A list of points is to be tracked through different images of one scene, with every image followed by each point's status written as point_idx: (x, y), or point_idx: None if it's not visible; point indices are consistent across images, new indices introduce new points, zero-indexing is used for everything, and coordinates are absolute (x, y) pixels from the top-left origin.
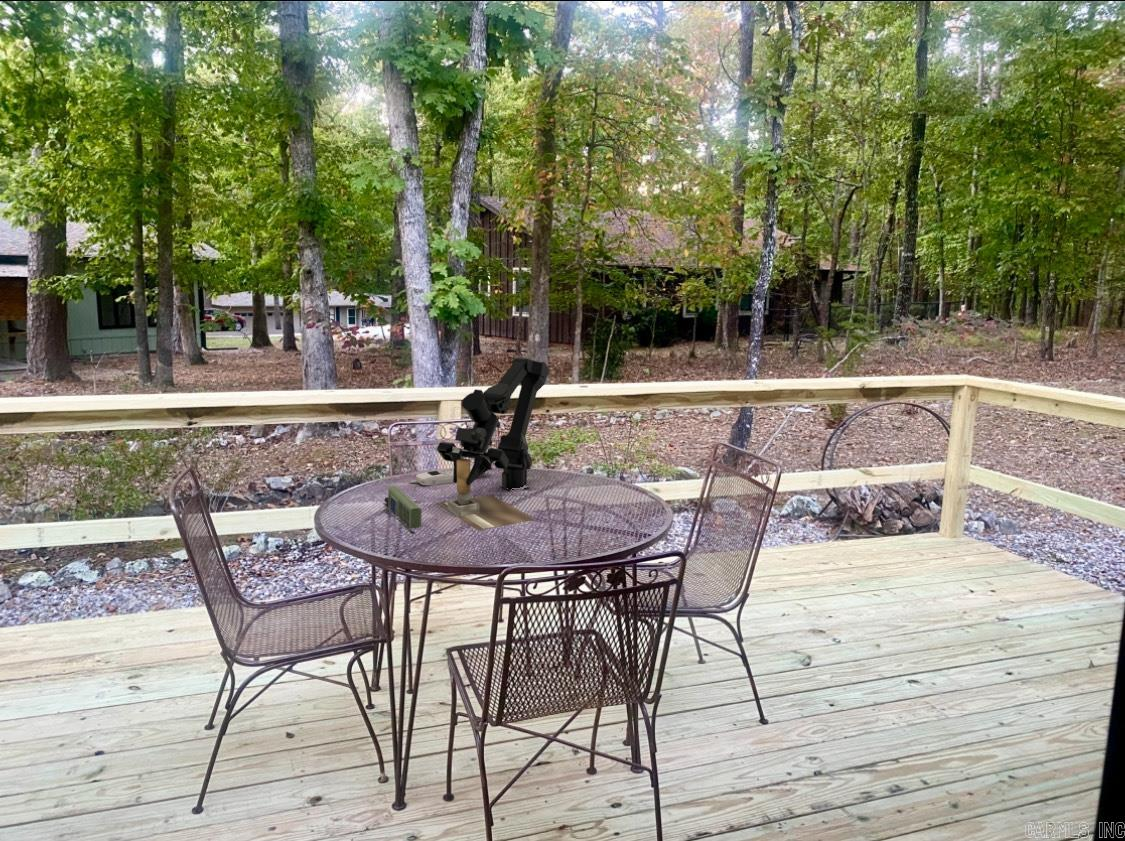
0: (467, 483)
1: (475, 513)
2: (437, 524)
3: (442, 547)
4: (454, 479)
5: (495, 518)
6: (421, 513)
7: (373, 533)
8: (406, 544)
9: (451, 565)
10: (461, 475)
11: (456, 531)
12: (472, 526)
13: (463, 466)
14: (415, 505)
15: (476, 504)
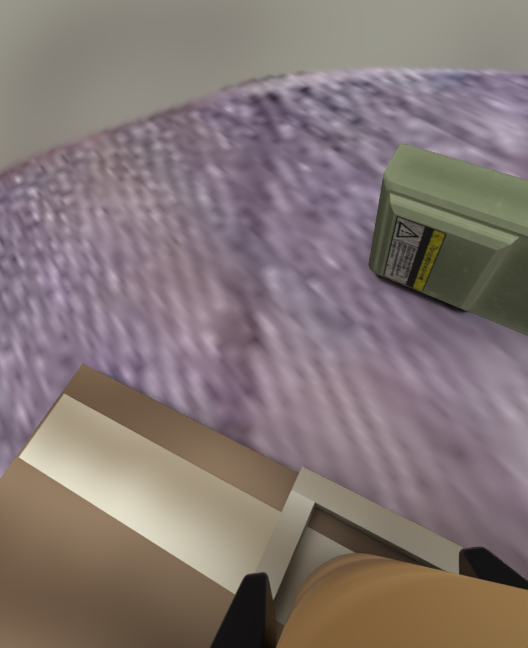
0: (246, 575)
1: None
2: (383, 391)
3: (175, 211)
4: (483, 566)
5: (68, 607)
6: (390, 226)
7: (512, 160)
8: (310, 163)
9: (70, 141)
10: (348, 566)
11: (229, 369)
12: (137, 392)
13: (315, 613)
14: (440, 184)
15: None
